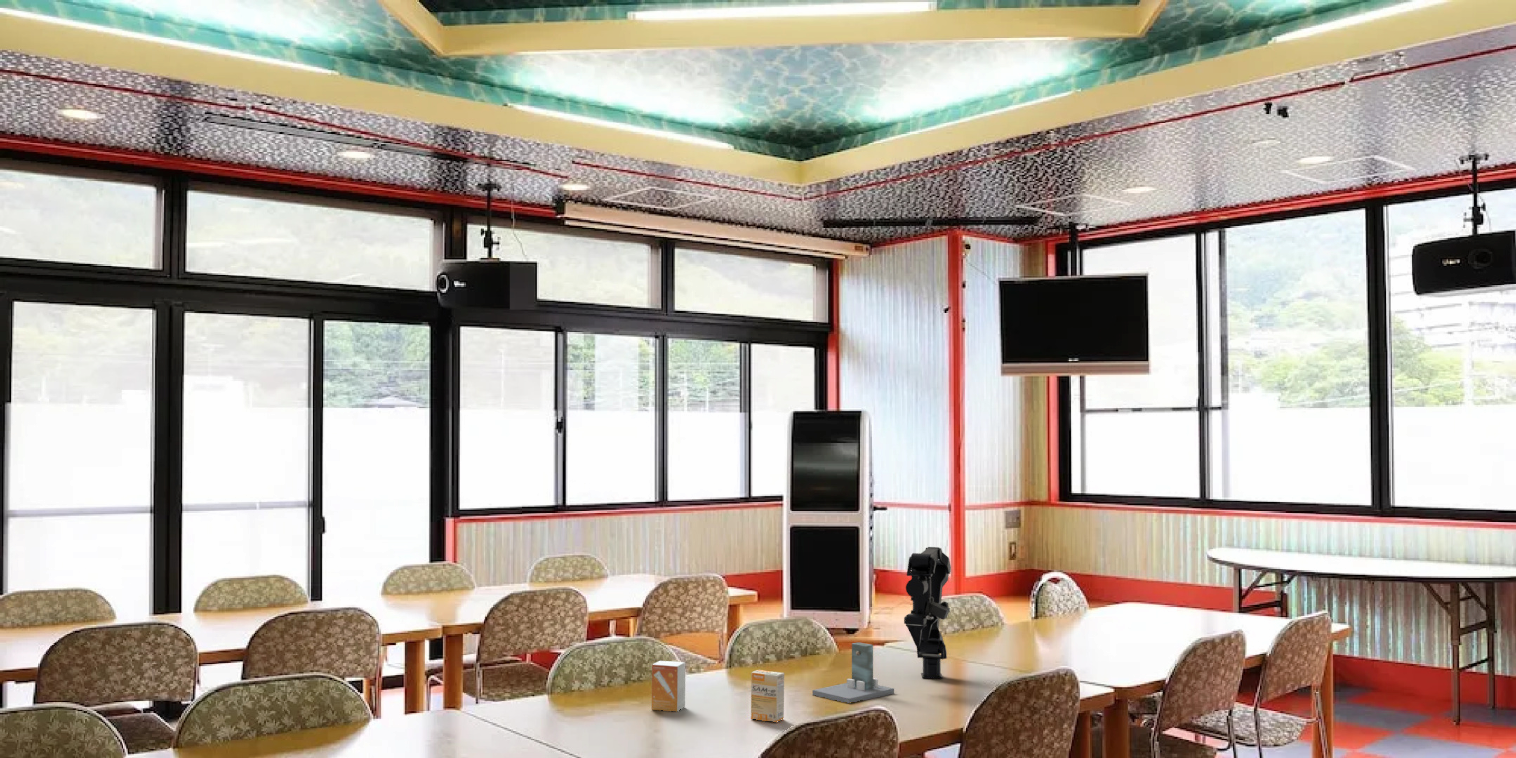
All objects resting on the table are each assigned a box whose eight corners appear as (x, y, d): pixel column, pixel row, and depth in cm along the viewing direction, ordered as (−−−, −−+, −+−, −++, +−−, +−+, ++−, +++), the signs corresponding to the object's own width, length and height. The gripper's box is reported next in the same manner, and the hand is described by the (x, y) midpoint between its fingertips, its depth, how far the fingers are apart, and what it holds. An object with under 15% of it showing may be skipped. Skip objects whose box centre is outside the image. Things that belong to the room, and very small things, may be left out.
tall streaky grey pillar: (858, 684, 358) (858, 642, 359) (873, 688, 354) (873, 644, 354) (850, 686, 356) (849, 643, 356) (864, 690, 351) (864, 646, 352)
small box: (651, 710, 332) (651, 664, 332) (659, 705, 338) (659, 660, 338) (677, 712, 329) (677, 665, 330) (685, 707, 335) (685, 661, 336)
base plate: (857, 685, 364) (857, 672, 365) (894, 693, 353) (894, 680, 353) (812, 695, 351) (812, 681, 351) (848, 703, 340) (848, 689, 340)
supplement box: (750, 720, 320) (750, 672, 321) (758, 716, 325) (758, 669, 325) (776, 723, 317) (776, 675, 317) (784, 719, 321) (784, 671, 321)
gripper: (938, 598, 353) (939, 650, 352) (954, 591, 370) (955, 641, 369) (903, 596, 358) (903, 648, 357) (920, 589, 375) (921, 638, 374)
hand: (922, 644), depth 364 cm, fingers open, 9 cm apart
